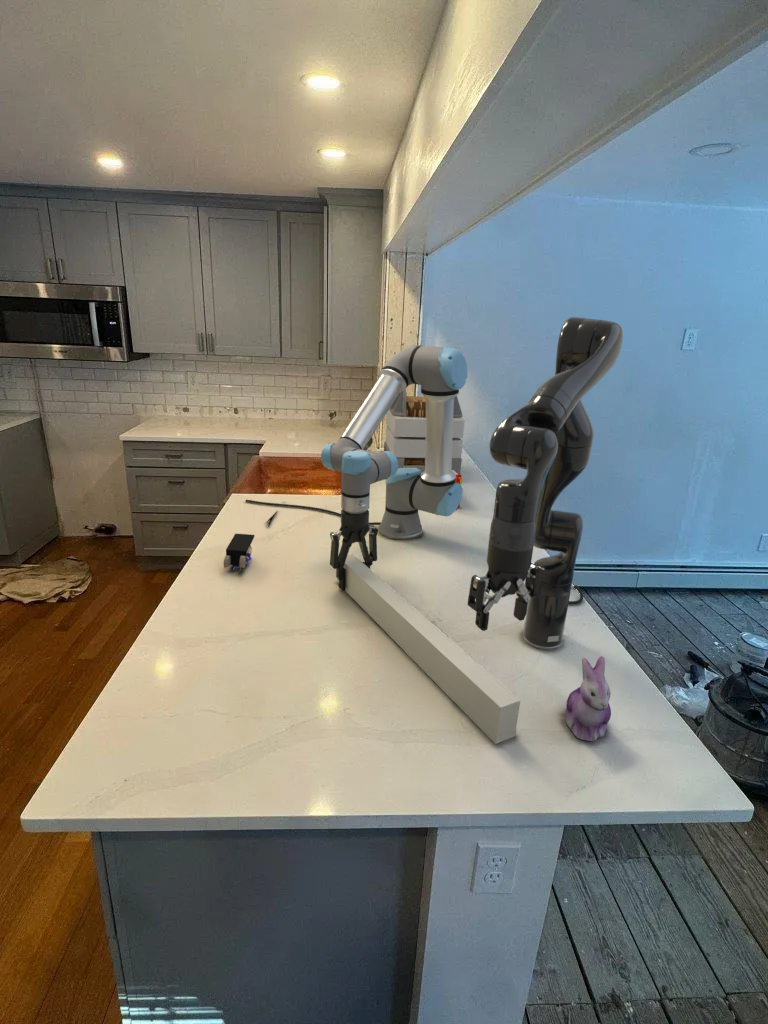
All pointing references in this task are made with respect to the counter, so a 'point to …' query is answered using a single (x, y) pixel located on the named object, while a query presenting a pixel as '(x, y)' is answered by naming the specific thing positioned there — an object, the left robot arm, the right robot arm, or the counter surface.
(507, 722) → the post
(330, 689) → the counter surface
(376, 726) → the counter surface
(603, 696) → the figurine
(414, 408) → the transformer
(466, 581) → the counter surface
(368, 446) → the fossil
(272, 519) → the feather
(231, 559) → the black wheeled rover
